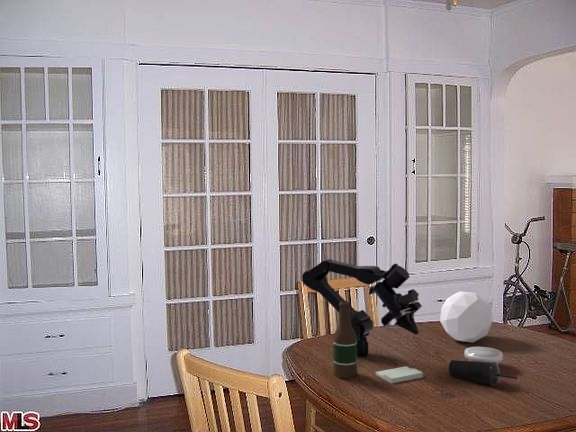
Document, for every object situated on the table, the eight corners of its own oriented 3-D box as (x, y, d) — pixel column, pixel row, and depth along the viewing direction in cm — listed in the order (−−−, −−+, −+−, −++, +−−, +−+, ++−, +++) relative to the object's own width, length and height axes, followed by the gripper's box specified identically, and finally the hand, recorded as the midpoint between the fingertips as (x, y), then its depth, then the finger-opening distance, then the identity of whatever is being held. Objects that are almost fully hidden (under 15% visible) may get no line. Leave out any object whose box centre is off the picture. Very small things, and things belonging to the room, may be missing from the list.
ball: (463, 353, 224) (472, 307, 233) (499, 348, 207) (507, 299, 215) (424, 333, 220) (435, 288, 228) (458, 326, 202) (469, 277, 211)
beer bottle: (331, 371, 186) (330, 299, 184) (354, 370, 187) (354, 298, 185) (335, 379, 178) (334, 304, 177) (359, 378, 179) (359, 304, 177)
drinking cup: (451, 384, 179) (516, 396, 167) (445, 371, 175) (511, 381, 163) (457, 364, 184) (521, 374, 172) (451, 350, 180) (516, 359, 168)
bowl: (473, 373, 181) (473, 358, 181) (459, 361, 193) (459, 346, 193) (509, 372, 182) (509, 356, 182) (492, 360, 194) (493, 345, 194)
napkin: (391, 383, 174) (391, 378, 174) (375, 374, 182) (375, 369, 182) (423, 377, 179) (423, 372, 179) (406, 368, 187) (406, 364, 187)
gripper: (389, 286, 182) (419, 326, 176) (416, 278, 197) (446, 314, 190) (368, 307, 188) (397, 345, 182) (396, 297, 202) (424, 333, 196)
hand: (417, 334), depth 187 cm, fingers closed
